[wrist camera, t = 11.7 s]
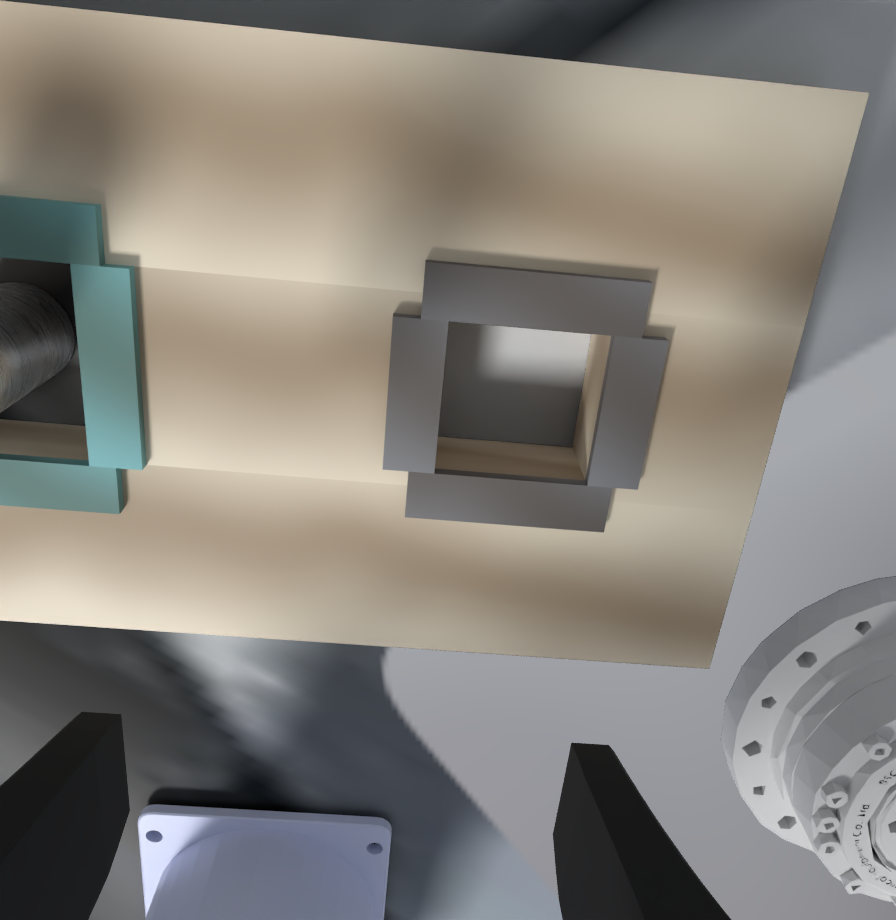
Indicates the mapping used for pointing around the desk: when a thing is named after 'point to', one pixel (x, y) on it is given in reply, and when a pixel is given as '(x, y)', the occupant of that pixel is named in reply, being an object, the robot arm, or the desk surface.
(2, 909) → the robot arm
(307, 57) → the dock board
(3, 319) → the steel pin
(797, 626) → the mechanical component
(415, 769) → the desk surface
